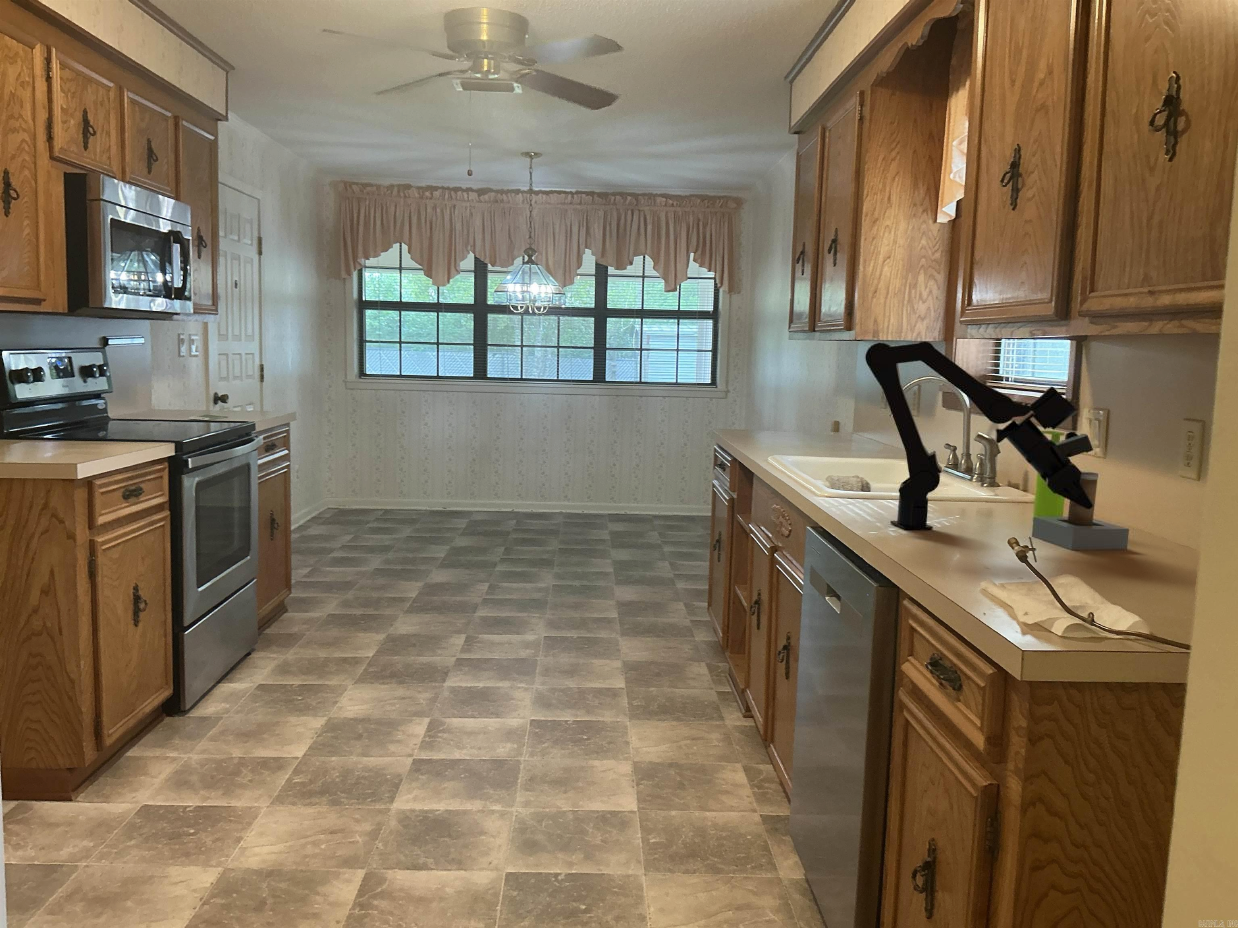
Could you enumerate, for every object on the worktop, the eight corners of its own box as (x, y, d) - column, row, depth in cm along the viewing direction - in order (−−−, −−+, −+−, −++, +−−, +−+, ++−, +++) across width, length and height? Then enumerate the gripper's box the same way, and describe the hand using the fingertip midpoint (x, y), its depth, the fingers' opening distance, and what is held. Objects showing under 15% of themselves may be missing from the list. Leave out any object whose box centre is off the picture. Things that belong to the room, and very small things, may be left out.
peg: (1061, 537, 182) (1068, 472, 180) (1072, 534, 185) (1079, 470, 183) (1084, 541, 179) (1092, 475, 177) (1095, 539, 182) (1102, 473, 180)
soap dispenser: (1038, 518, 207) (1047, 429, 204) (1067, 523, 201) (1077, 432, 199) (1022, 520, 204) (1031, 429, 201) (1051, 526, 198) (1061, 433, 196)
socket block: (1031, 536, 187) (1033, 516, 186) (1084, 535, 189) (1086, 516, 188) (1071, 549, 175) (1073, 529, 174) (1126, 549, 177) (1129, 528, 177)
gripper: (1074, 422, 171) (1134, 486, 169) (1063, 415, 189) (1117, 473, 187) (1023, 460, 175) (1082, 524, 173) (1017, 450, 192) (1070, 508, 190)
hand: (1089, 505), depth 180 cm, fingers closed on peg, 4 cm apart
